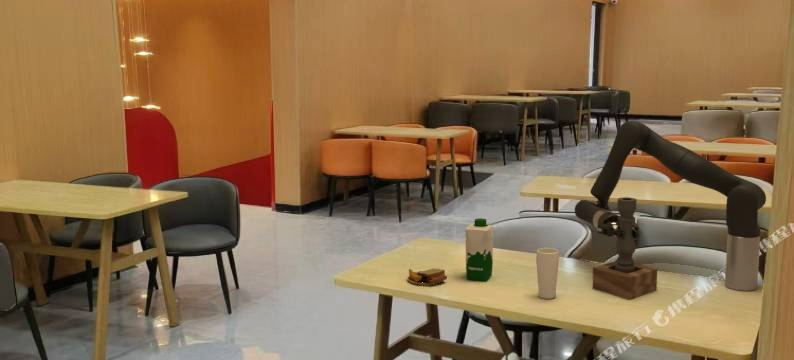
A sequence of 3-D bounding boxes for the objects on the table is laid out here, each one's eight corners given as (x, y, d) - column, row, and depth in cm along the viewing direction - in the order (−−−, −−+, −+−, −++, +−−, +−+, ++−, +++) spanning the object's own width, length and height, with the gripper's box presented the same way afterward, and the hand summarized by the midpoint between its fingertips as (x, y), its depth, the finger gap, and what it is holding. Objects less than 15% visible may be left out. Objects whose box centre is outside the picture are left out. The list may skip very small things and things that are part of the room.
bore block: (619, 279, 232) (620, 259, 231) (656, 290, 221) (657, 269, 220) (592, 288, 224) (592, 267, 223) (629, 299, 213) (630, 277, 212)
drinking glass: (545, 301, 213) (546, 254, 211) (531, 295, 219) (532, 249, 217) (562, 297, 216) (563, 251, 214) (548, 291, 222) (549, 246, 220)
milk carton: (494, 275, 241) (494, 219, 238) (488, 283, 233) (488, 224, 229) (470, 272, 244) (470, 217, 241) (463, 280, 236) (462, 223, 233)
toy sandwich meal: (432, 273, 245) (432, 260, 245) (452, 284, 234) (452, 270, 233) (401, 279, 240) (401, 266, 239) (419, 290, 228) (419, 276, 227)
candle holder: (636, 279, 218) (638, 201, 214) (615, 278, 220) (617, 201, 215) (633, 272, 224) (636, 197, 220) (613, 272, 226) (615, 197, 221)
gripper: (587, 212, 232) (608, 224, 215) (628, 210, 234) (652, 222, 217) (587, 234, 234) (607, 248, 217) (627, 232, 235) (651, 245, 218)
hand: (629, 235), depth 217 cm, fingers closed on candle holder, 4 cm apart
